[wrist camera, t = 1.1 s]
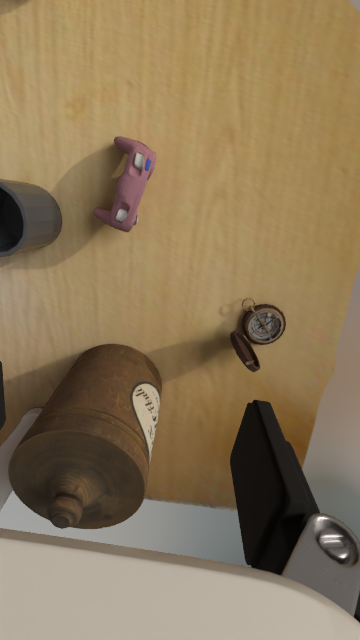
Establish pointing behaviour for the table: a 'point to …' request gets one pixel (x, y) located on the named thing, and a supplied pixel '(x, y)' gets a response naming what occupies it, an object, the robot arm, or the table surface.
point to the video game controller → (129, 185)
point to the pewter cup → (26, 217)
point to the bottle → (3, 453)
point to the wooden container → (91, 441)
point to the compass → (257, 332)
